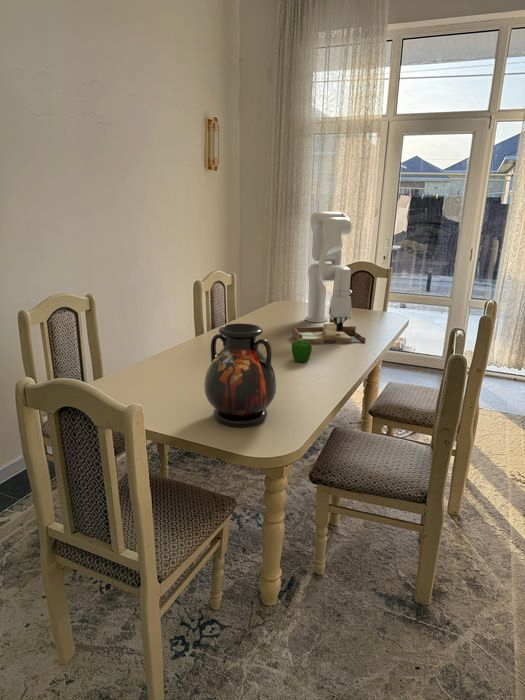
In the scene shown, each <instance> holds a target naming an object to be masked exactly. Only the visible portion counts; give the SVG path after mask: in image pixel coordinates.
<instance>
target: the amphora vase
mask: <svg viewBox="0 0 525 700" xmlns="http://www.w3.org/2000/svg"><path fill="white" fill-rule="evenodd" d="M263 332H264V330H263V327H261V326H260V325H256V324H251V323H228V324H225V325H222V326H219V328H218V333H217V334H215V335H213V337H212V339H211V341H210V361H211V362H210V365H209V367H208V369H207V371H206V373H205V379H204V384H203V385H204V394H205V397H206V399H207V401H208V402H209V404H210V405H211V407H213V414H212V415H213V417H214V419H215V420H216V421H218V422H219V423H221V424H223V425H224V426H225V425H226V426H229V427H236V428H241V427H242V428H243V427H251V426H255V425H258V424H260V423H262V422H263V421H265V420H266V418H267V416H268V411H267V408H268V407H269V406H270V404H271V403H272V402H273V400H274V399H275V396H276V393H277V381H276V374H275V373H276V372H275V371H274V368H273V366H272V365H273V364H272V355H273V353H272V352H273V351H272V346H271V343H270V342H269V341H268V340H267V339H264V338H259V339H258V340H257V337H258V336H261V335H262V334H263ZM218 340H220V341H221V342H222V345H223V348H222V349H220V351H219V352H218V353H217V347H216V346H217V342H218ZM260 344H262V345H264V347H265V351H266V352H265V353H266V355H265V354H264V353H263V352H262V351H261V350H260V349H259V345H260Z"/></svg>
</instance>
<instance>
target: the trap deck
mask: <svg viewBox="0 0 525 700" xmlns="http://www.w3.org/2000/svg"><path fill="white" fill-rule="evenodd" d="M356 329H357V326H354V325H349V326H348V325H347V326H345V325H343V329H342V331H340V332H338V331H337V329H336V335H325V334H324V333H323V326H310V327H309V326H306V327H304V326H303V327H300V326H298V327H292V338H293V339H294V338H295V339H294V340H295V342H296V341H299V339H302V340H303V342H306V341H308V342H309V343H310V344H311V345H332V344H333V343H340V344H360V343H359V342H365V343H366V341H367V340H366V336H364V334H363V335H362V334H361V333H360V332H359V331H357V330H356ZM333 345H334V344H333Z"/></svg>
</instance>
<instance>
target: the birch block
mask: <svg viewBox="0 0 525 700" xmlns="http://www.w3.org/2000/svg"><path fill="white" fill-rule="evenodd" d="M322 323H323V325H322V327H323V333H324V334H325V335H336V327H337V325H336V324H334V323H330V322H322Z"/></svg>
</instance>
